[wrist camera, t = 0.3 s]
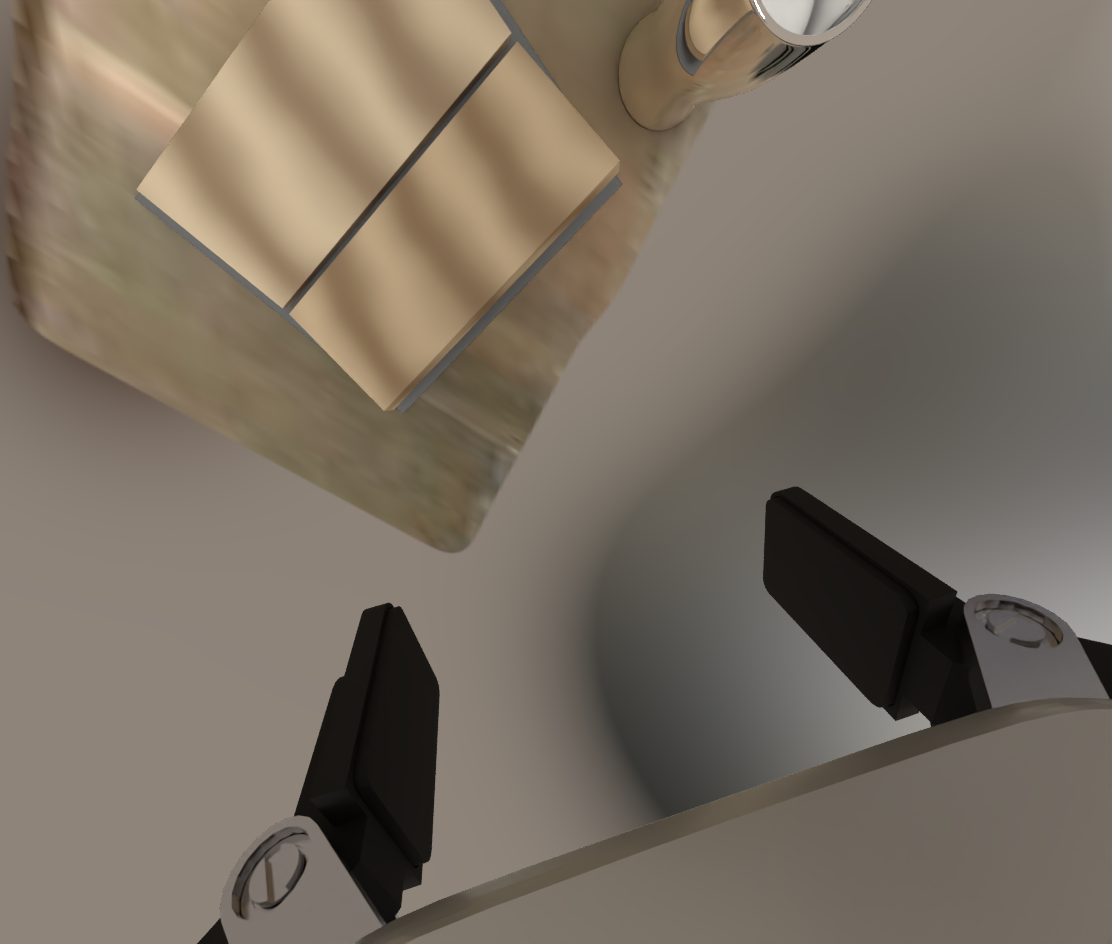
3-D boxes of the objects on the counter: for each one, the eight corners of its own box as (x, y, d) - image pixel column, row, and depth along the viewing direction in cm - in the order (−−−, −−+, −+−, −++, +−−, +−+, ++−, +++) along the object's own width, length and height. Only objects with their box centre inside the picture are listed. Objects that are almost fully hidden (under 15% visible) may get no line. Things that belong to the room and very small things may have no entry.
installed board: (386, -136, 23) (381, -161, 21) (508, 43, 27) (511, 32, 25) (152, 192, 26) (136, 189, 25) (290, 306, 31) (282, 308, 29)
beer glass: (595, 110, 29) (704, -7, 16) (636, -22, 27) (806, -290, 14) (681, 156, 31) (839, 86, 18) (726, 38, 29) (948, -142, 16)
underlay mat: (392, -160, 23) (391, -166, 22) (620, 184, 31) (622, 184, 31) (138, 199, 27) (134, 198, 26) (403, 412, 36) (402, 413, 35)
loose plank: (521, 60, 27) (517, 41, 25) (618, 173, 28) (620, 160, 26) (303, 317, 31) (288, 314, 29) (393, 410, 32) (384, 410, 30)
